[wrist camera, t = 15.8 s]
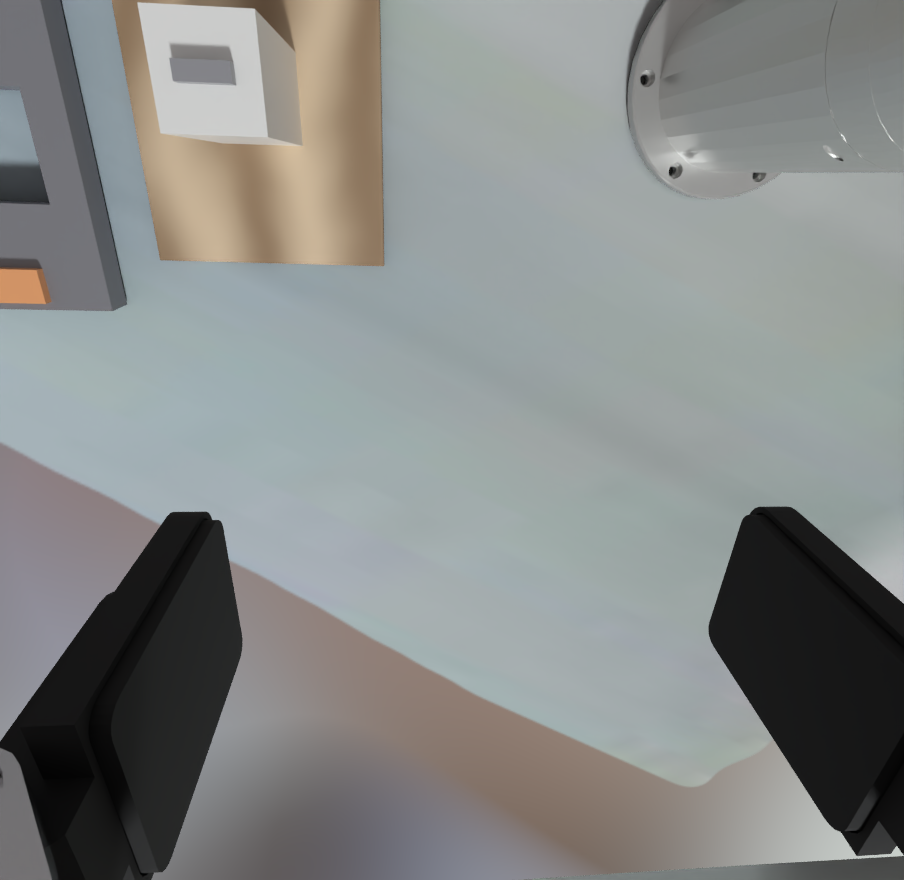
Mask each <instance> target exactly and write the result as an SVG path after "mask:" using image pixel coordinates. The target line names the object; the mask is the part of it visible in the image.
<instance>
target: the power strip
mask: <svg viewBox="0 0 904 880" xmlns="http://www.w3.org/2000/svg"><path fill="white" fill-rule="evenodd" d="M0 89H1V90H20V92H21V95H22V99H23V103H24V107H25V111H26V115H27V118H28V122H29V126H30V130H31V134H32V138H33V142H34V145H35V149H36V153H37V157H38V161H39V165H40V168H41V172H42V176H43V180H44V184H45V188H46V191H47V195H48V199H49V202H24V201H0V309H33V310H84V311H114V310H116V309H118V308H120V307H122V306H124V305H126V304H127V302H126V297H125V293H124V288H123V284H122V279H121V275H120V270H119V265H118V261H117V256H116V252H115V247H114V243H113V238H112V234H111V229H110V225H109V220H108V215H107V211H106V206H105V202H104V197H103V193H102V188H101V184H100V179H99V174H98V170H97V165H96V161H95V156H94V152H93V147H92V143H91V138H90V133H89V129H88V124H87V120H86V115H85V111H84V106H83V102H82V97H81V93H80V88H79V83H78V79H77V74H76V70H75V65H74V61H73V56H72V52H71V47H70V42H69V38H68V33H67V29H66V24H65V20H64V15H63V11H62V6H61V2H60V0H0Z"/></svg>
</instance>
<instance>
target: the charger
mask: <svg viewBox="0 0 904 880" xmlns="http://www.w3.org/2000/svg"><path fill="white" fill-rule="evenodd" d="M137 4H138V9H139V15H140V21H141V26H142V32H143V38H144V43H145V49H146V55H147V60H148V66H149V71H150V77H151V83H152V88H153V94H154V100H155V105H156V111H157V117H158V122H159V128H160V133H161V134H167V135H174V136H180V137H186V138H192V139H199V140H205V141H211V142H217V143H227V144H256V145H284V146H303V142H302V129H301V117H300V104H299V91H298V79H297V66H296V53H295V51H294V50H293V49H292V48H291V47H290V46H289V45H288V44H287V43H286V42H285V41H284V39H283V38H282V37H281V36H280V35H279V34H278V33H277V32H276V31H275V30H274V29H273V28H272V27H271V26H270V24H269V23H268V22H267V21H266V20H265V19H264V18H263V17H262V16H261V15H260V14H259V13H258V12H257V11H256V9H252V8H233V7H215V6H196V5H178V4H159V3H141V2H137Z"/></svg>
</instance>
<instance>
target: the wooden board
mask: <svg viewBox="0 0 904 880" xmlns="http://www.w3.org/2000/svg"><path fill="white" fill-rule="evenodd" d="M137 2H141V3H159V4H178V5H196V6H215V7H233V8H252V9H256V11H257V12H258V13H259V14H260V15H261V16H262V17H263V18H264V19H265V20H266V21H267V22H268V23H269V24H270V26H271V27H272V28H273V29H274V30H275V31H276V32H277V33H278V34H279V35H280V36H281V37H282V38H283V39H284V41H285V42H286V43H287V44H288V45H289V46H290V47H291V48H292V49H293V50H294V51H295V53H296V66H297V79H298V91H299V104H300V117H301V129H302V142H303V146H284V145H256V144H227V143H217V142H211V141H205V140H199V139H192V138H186V137H180V136H174V135H167V134H161V133H160V128H159V122H158V117H157V111H156V105H155V100H154V94H153V88H152V83H151V77H150V71H149V66H148V60H147V55H146V49H145V43H144V38H143V32H142V26H141V21H140V15H139V9H138V4H137ZM112 4H113V9H114V15H115V20H116V26H117V31H118V36H119V42H120V47H121V52H122V58H123V63H124V68H125V74H126V79H127V84H128V90H129V95H130V100H131V106H132V111H133V116H134V122H135V127H136V133H137V138H138V143H139V149H140V154H141V159H142V165H143V170H144V175H145V181H146V186H147V191H148V197H149V202H150V207H151V213H152V218H153V223H154V229H155V234H156V239H157V245H158V250H159V256H160V260H176V261H213V262H251V263H288V264H325V265H362V266H384V217H383V156H382V95H381V35H380V0H112Z"/></svg>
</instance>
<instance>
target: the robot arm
mask: <svg viewBox="0 0 904 880" xmlns="http://www.w3.org/2000/svg"><path fill="white" fill-rule="evenodd" d="M641 76H644V77H645V78H646V81H645V84H644V85H642V84H641V81H640V77H641ZM627 110H628V117H629V124H630V131H631V134H632V137H633V140H634V143H635V146H636V149H637V151H638V153H639V155H640V157H641V158H642V160H643V162H644V164H645V166H646V167H647V168H648V169H649V170H650V172H651V173H652V174H653V175H654V176H655V177H656V178H657V179H658V180H659V181H660V182H662V183H663V184H664V185H666V186H667V187H669V188H670V189H672V190H674V191H676V192H679V193H681V194H684V195H686V196H690V197H696V198H702V199H724V198H730V197H736V196H740V195H743V194H745V193H748V192H751V191H753V190H756V189H758V188H760V187H761V186H763V185H765V184H766V183H768V182H770V181H771V180H773V179H775V178H776V177H777V176H778V175H780V174H781V173H835V172H904V0H664V1H663V3H662V4H661V5H660V7H659V8H658V9H657V11H656V12H655V13H654V15H653V16H652V18H651V20H650V22H649V24H648V26H647V28H646V30H645V31H644V33H643V35H642V37H641V39H640V42H639V45H638V48H637V51H636V54H635V57H634V59H633V63H632V68H631V73H630V78H629V84H628V105H627ZM670 167H672V168H673V172H672V174H671V175H669V169H670ZM753 173H755V175H754V177H753ZM709 637H710V640H711V642H712V644H713V646H714V648H715V649H716V651H717V652H718V654H719V655H720V657H721V659H722V660H723V662H724V663H725V665H726V666H727V668H728V669H729V671H730V673H731V674H732V676H733V677H734V679H735V680H736V682H737V683H738V685H739V686H740V688H741V690H742V691H743V693H744V694H745V696H746V697H747V699H748V700H749V702H750V703H751V705H752V707H753V708H754V710H755V711H756V713H757V714H758V716H759V717H760V719H761V721H762V722H763V724H764V725H765V727H766V728H767V730H768V731H769V733H770V734H771V736H772V738H773V739H774V741H775V742H776V744H777V745H778V747H779V748H780V750H781V752H782V753H783V755H784V756H785V758H786V759H787V761H788V762H789V764H790V765H791V767H792V769H793V770H794V771H795V773H796V774H797V776H798V778H799V779H800V781H801V782H802V784H803V786H804V787H805V789H806V790H807V792H808V793H809V795H810V796H811V798H812V800H813V801H814V803H815V804H816V806H817V807H818V809H819V810H820V812H821V813H822V815H823V817H824V818H825V819H826V821H827V822H828V823H829V825H831V826H832V827H833V828H834V829H835V830H838V831H841V833H842V834H843V836H844V837H845V839H846V840H847V842H848V843H849V845H850V846H851V848H852V850H853V851H854V852H855V854H856V855H857V856H862V855H879V854H891V853H892V851H893V850H894V848H895V847H896V846H898V848H899V849H900V850H901V852H902V853H903V855H904V604H903V603H902V602H901V601H900V600H899V599H898V598H896V597H895V596H894V595H893V594H892V593H891V592H889V591H888V590H887V589H886V588H885V587H884V586H883V585H881V584H880V583H879V582H878V581H877V580H876V579H875V578H873V577H872V576H871V575H870V574H869V573H868V572H866V571H865V570H864V569H863V568H862V567H861V566H860V565H858V564H857V563H856V562H855V561H854V560H853V559H852V558H850V557H849V556H848V555H847V554H846V553H845V552H843V551H842V550H841V549H840V548H839V547H838V546H837V545H835V544H834V543H833V542H832V541H831V540H830V539H829V538H827V537H826V536H825V535H824V534H823V533H822V532H820V531H819V530H818V529H817V528H816V527H815V526H814V525H812V524H811V523H810V522H809V521H808V520H807V519H806V518H804V517H803V516H802V515H801V514H800V513H799V512H797V511H796V510H795V509H793V508H791V507H757V508H755V509H754V510H753V511H752V512H751V513H750V515H747V516H745V517H744V518H743V520H742V522H741V525H740V528H739V532H738V535H737V538H736V541H735V544H734V547H733V550H732V554H731V557H730V560H729V563H728V566H727V569H726V572H725V575H724V579H723V582H722V585H721V588H720V591H719V594H718V597H717V601H716V604H715V607H714V610H713V613H712V616H711V619H710V622H709ZM241 651H242V633H241V627H240V622H239V616H238V610H237V605H236V599H235V593H234V587H233V582H232V576H231V570H230V564H229V559H228V553H227V547H226V541H225V536H224V530H223V526H222V523H221V521H219V520H212V518H211V516H210V514H209V513H208V512H172V513H170V514H169V515H168V516H167V517H166V519H165V520H164V522H163V523H162V525H161V526H160V527H159V529H158V530H157V532H156V533H155V535H154V536H153V537H152V539H151V540H150V542H149V543H148V545H147V546H146V547H145V549H144V550H143V552H142V553H141V555H140V556H139V557H138V559H137V560H136V562H135V563H134V564H133V566H132V567H131V569H130V570H129V572H128V573H127V574H126V576H125V577H124V579H123V580H122V582H121V583H120V585H119V586H118V587H117V589H116V590H115V592H112V593H110V594H108V595H106V597H105V598H104V599H103V600H102V601H101V602H100V603H99V604H98V606H97V607H96V609H95V610H94V611H93V613H92V614H91V616H90V617H89V618H88V620H87V621H86V623H85V624H84V625H83V627H82V628H81V630H80V631H79V632H78V634H77V635H76V637H75V638H74V639H73V641H72V642H71V643H70V645H69V646H68V648H67V649H66V650H65V652H64V653H63V655H62V656H61V657H60V659H59V660H58V662H57V663H56V664H55V666H54V667H53V669H52V670H51V671H50V673H49V674H48V676H47V677H46V678H45V680H44V681H43V683H42V684H41V686H40V687H39V688H38V690H37V691H36V692H35V694H34V695H33V696H32V698H31V699H30V701H29V702H28V703H27V705H26V706H25V708H24V709H23V711H22V712H21V713H20V715H19V716H18V717H17V719H16V720H15V722H14V723H13V725H12V726H11V727H10V729H9V730H8V731H7V733H6V734H5V736H4V737H3V739H2V740H1V741H0V880H151V879H152V876H153V874H154V872H163V871H164V870H165V869H166V867H167V866H168V864H169V861H170V859H171V857H172V854H173V851H174V848H175V845H176V842H177V839H178V837H179V834H180V831H181V828H182V825H183V822H184V819H185V816H186V814H187V811H188V808H189V805H190V802H191V799H192V796H193V793H194V790H195V787H196V784H197V782H198V779H199V776H200V773H201V770H202V767H203V764H204V761H205V759H206V756H207V753H208V750H209V747H210V744H211V741H212V738H213V735H214V733H215V730H216V727H217V724H218V721H219V718H220V715H221V712H222V709H223V706H224V704H225V701H226V698H227V695H228V692H229V689H230V686H231V683H232V680H233V677H234V675H235V672H236V669H237V666H238V663H239V660H240V656H241ZM525 880H904V856H899V857H882V858H865V859H847V860H830V861H812V862H795V863H778V864H762V865H745V866H729V867H712V868H696V869H681V870H664V871H649V872H634V873H617V874H603V875H587V876H572V877H556V878H540V879H525Z"/></svg>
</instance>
